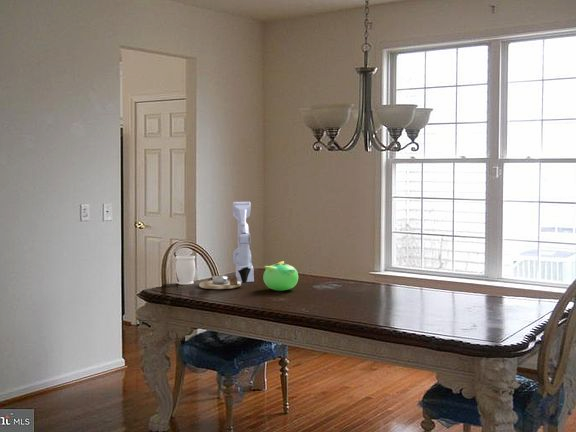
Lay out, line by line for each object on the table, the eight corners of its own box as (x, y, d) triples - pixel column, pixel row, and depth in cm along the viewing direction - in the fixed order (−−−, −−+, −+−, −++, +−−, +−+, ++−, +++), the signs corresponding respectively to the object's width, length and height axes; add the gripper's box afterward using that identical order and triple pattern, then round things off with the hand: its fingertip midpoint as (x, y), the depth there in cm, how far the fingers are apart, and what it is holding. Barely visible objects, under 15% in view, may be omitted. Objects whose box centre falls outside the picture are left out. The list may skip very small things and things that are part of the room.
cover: (224, 281, 386) (224, 274, 386) (229, 283, 379) (229, 277, 378) (210, 282, 383) (210, 276, 382) (215, 285, 375) (215, 278, 375)
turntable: (231, 280, 396) (231, 271, 395) (247, 286, 376) (247, 277, 376) (193, 284, 386) (193, 274, 385) (207, 290, 366) (207, 280, 366)
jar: (172, 284, 388) (172, 257, 387) (181, 281, 398) (180, 254, 397) (190, 285, 385) (190, 257, 384) (198, 282, 395) (198, 255, 394)
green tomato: (299, 287, 375) (299, 260, 374) (296, 293, 359) (296, 264, 358) (265, 287, 377) (265, 259, 376) (261, 293, 361) (260, 264, 359)
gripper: (243, 254, 385) (243, 279, 386) (230, 257, 372) (231, 283, 373) (255, 255, 383) (255, 280, 384) (243, 258, 369) (243, 284, 370)
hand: (244, 282), depth 378 cm, fingers closed
